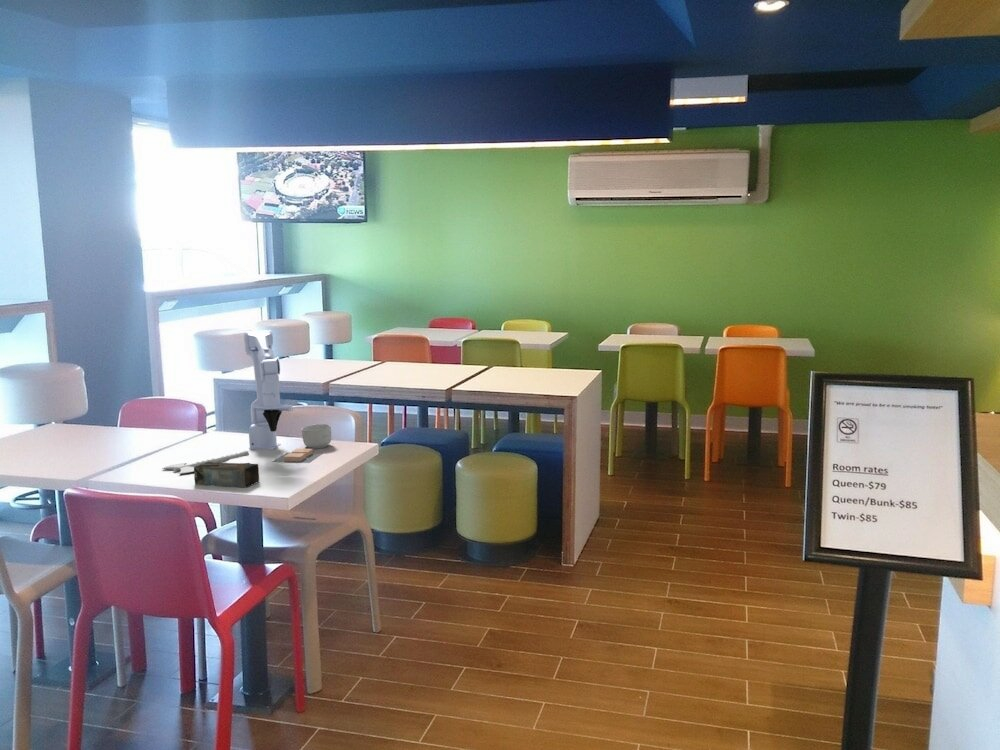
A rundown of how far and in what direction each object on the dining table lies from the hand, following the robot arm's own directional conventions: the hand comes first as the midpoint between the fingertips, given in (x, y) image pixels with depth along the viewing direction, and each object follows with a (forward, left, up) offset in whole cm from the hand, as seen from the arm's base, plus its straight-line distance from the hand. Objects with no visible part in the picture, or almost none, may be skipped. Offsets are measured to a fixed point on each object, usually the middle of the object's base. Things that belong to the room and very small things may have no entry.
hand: (273, 430), depth 301 cm
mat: (+8, 0, -10) cm, 13 cm away
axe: (-20, -10, -11) cm, 24 cm away
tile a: (+6, +4, -8) cm, 11 cm away
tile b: (+6, -4, -8) cm, 11 cm away
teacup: (+9, +19, -10) cm, 23 cm away
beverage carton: (-2, -33, -10) cm, 34 cm away
